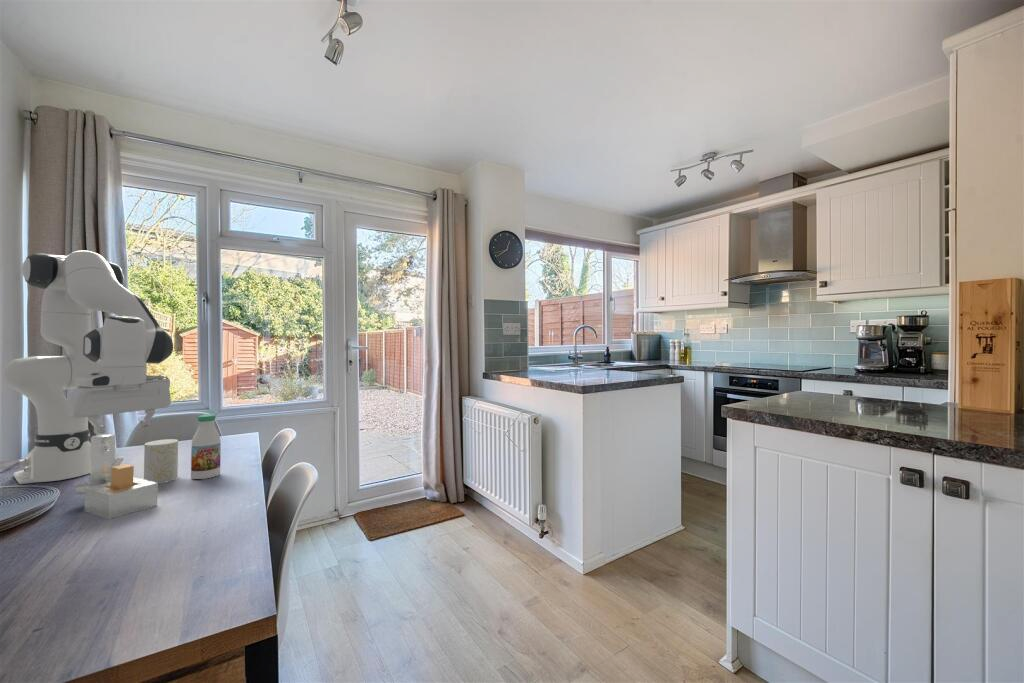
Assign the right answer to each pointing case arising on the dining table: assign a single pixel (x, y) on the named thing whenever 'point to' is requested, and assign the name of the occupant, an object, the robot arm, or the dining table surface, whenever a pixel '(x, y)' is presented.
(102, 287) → the robot arm
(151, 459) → the cup
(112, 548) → the dining table surface
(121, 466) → the tan wooden block
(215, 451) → the milk bottle
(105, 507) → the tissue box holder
